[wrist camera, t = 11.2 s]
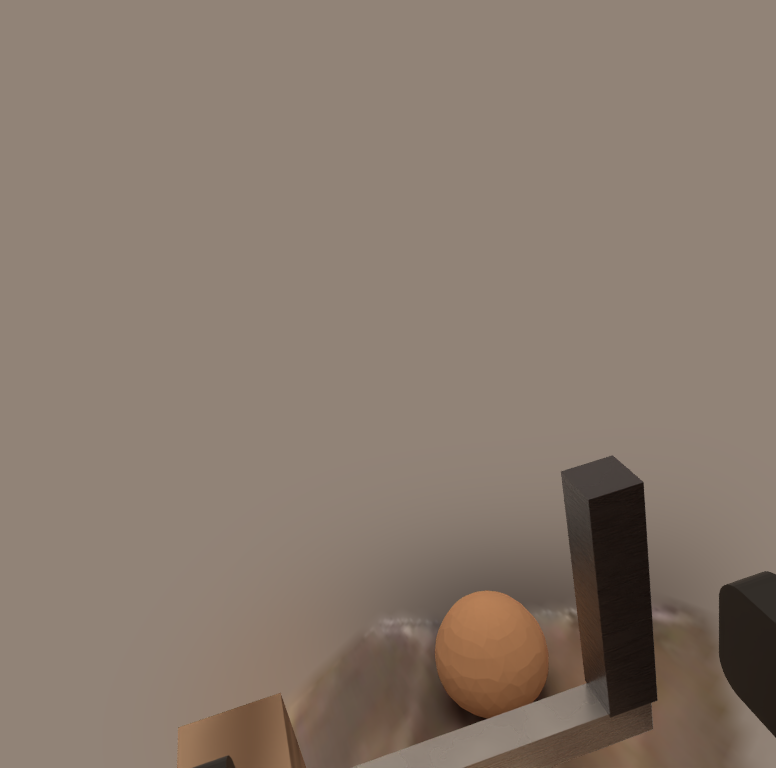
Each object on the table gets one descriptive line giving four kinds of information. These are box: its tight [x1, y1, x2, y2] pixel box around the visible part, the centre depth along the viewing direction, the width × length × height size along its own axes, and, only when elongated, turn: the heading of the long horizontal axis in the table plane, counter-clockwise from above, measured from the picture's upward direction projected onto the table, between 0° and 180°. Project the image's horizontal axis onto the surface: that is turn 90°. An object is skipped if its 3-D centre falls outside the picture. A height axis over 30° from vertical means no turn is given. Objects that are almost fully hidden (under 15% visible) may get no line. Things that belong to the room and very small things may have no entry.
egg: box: [435, 590, 548, 719], centre depth 48 cm, size 7×7×8 cm
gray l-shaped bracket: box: [352, 456, 657, 768], centre depth 32 cm, size 19×2×14 cm, turn 104°
